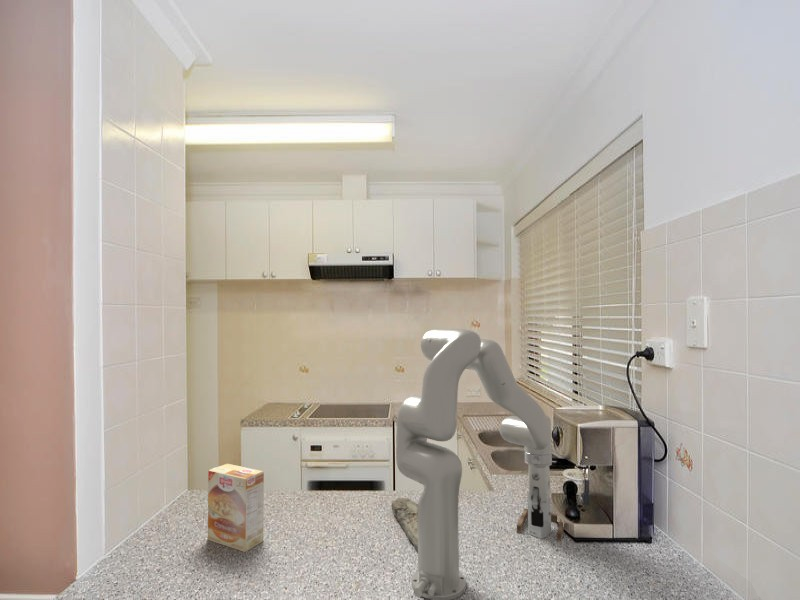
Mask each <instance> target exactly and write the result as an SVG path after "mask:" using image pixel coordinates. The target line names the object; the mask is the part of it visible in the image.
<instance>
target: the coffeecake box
mask: <svg viewBox="0 0 800 600" xmlns="http://www.w3.org/2000/svg"><path fill="white" fill-rule="evenodd" d="M207 474H208V477H207V478H208V479H207V481H208V482H207V483H208V489H207V490H208V491H207V497H208V498H207V541H210V542H214V543H216V544H219V545H223V546H225V547H229V548H232V549H235V550H238V551H241V552H244V553H247V552H248V551H250V550H251V549H252V548H254V547H256V546H257V545H259V544H261V543H263V542H264V521H265V520H264V513H265V512H264V500H265V499H264V496H265V493H264V492H265V491H264V488H265V484H264V483H265V481H264V479H265V471H264V470H259V469H254V468H250V467H244V466H240V465H237V464H236V465H235V464H231V463H225V464H222V465H219V466H216V467H212V468H210V469H208V473H207Z"/></svg>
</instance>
